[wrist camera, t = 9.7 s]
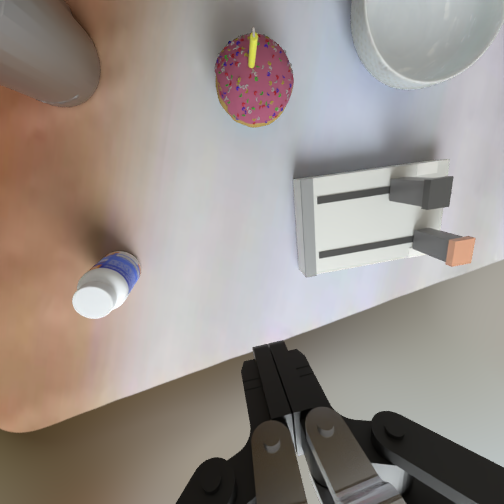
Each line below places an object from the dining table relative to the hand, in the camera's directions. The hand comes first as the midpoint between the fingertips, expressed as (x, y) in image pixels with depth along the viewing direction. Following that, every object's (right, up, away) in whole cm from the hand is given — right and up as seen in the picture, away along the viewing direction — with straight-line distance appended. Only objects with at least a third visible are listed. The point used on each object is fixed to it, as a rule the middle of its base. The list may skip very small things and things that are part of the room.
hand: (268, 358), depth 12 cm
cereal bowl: (+17, +34, +20) cm, 43 cm away
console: (+17, +11, +27) cm, 34 cm away
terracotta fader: (+25, +7, +26) cm, 37 cm away
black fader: (+20, +14, +23) cm, 33 cm away
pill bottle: (-19, +3, +24) cm, 31 cm away
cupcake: (-1, +25, +20) cm, 32 cm away
